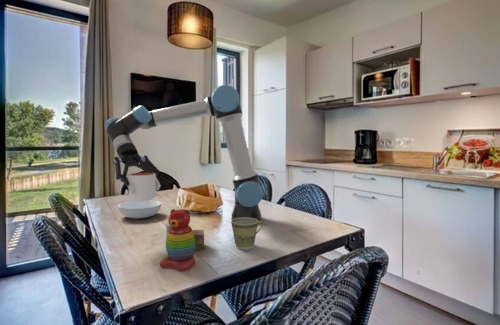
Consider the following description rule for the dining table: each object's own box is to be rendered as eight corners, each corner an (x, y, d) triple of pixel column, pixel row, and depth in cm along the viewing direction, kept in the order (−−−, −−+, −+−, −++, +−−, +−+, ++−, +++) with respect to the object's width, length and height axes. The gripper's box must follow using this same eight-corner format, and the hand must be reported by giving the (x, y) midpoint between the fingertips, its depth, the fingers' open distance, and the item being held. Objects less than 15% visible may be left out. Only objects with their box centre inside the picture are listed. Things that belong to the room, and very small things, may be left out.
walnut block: (204, 244, 113) (203, 229, 112) (204, 250, 107) (204, 234, 107) (188, 245, 112) (188, 230, 112) (187, 251, 106) (187, 235, 106)
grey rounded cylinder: (184, 239, 119) (184, 222, 118) (178, 244, 113) (177, 226, 112) (170, 238, 120) (170, 221, 119) (163, 243, 114) (163, 225, 114)
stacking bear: (156, 267, 93) (155, 211, 92) (175, 255, 102) (174, 205, 101) (185, 272, 89) (184, 215, 88) (202, 259, 99) (201, 207, 97)
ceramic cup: (237, 253, 104) (237, 225, 103) (227, 244, 113) (227, 218, 112) (269, 248, 109) (269, 221, 108) (258, 239, 118) (258, 215, 117)
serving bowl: (133, 224, 139) (133, 210, 139) (111, 217, 152) (110, 204, 152) (169, 215, 156) (169, 202, 155) (146, 210, 169) (146, 198, 168)
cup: (140, 203, 109) (139, 176, 108) (123, 200, 114) (122, 174, 113) (161, 198, 117) (160, 173, 116) (145, 195, 122) (144, 172, 121)
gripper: (147, 153, 133) (168, 191, 124) (94, 155, 115) (114, 200, 106) (153, 141, 129) (175, 180, 120) (99, 142, 112) (120, 187, 103)
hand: (146, 189), depth 113 cm, fingers closed on cup, 10 cm apart
